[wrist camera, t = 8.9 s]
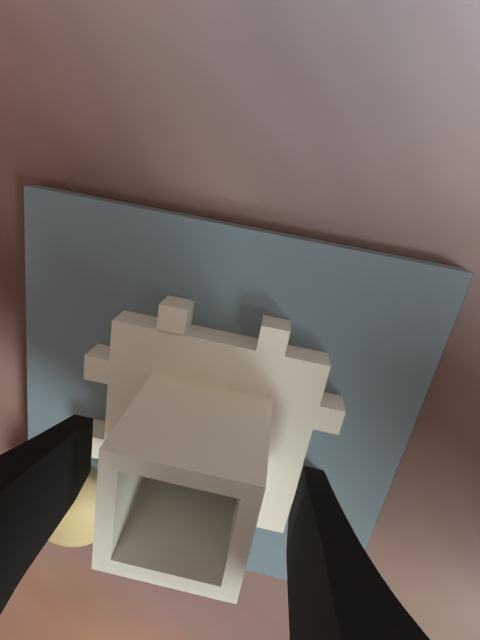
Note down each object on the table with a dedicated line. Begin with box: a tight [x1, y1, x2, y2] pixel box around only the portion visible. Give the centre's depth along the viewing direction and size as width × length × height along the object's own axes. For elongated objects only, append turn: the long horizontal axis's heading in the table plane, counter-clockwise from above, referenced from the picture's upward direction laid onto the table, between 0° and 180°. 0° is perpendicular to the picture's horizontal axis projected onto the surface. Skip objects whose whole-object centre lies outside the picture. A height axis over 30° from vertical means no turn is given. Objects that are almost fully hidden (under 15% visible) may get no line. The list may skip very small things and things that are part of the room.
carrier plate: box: [24, 185, 474, 580], centre depth 14 cm, size 14×14×4 cm
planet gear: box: [84, 295, 346, 604], centre depth 12 cm, size 9×9×5 cm
